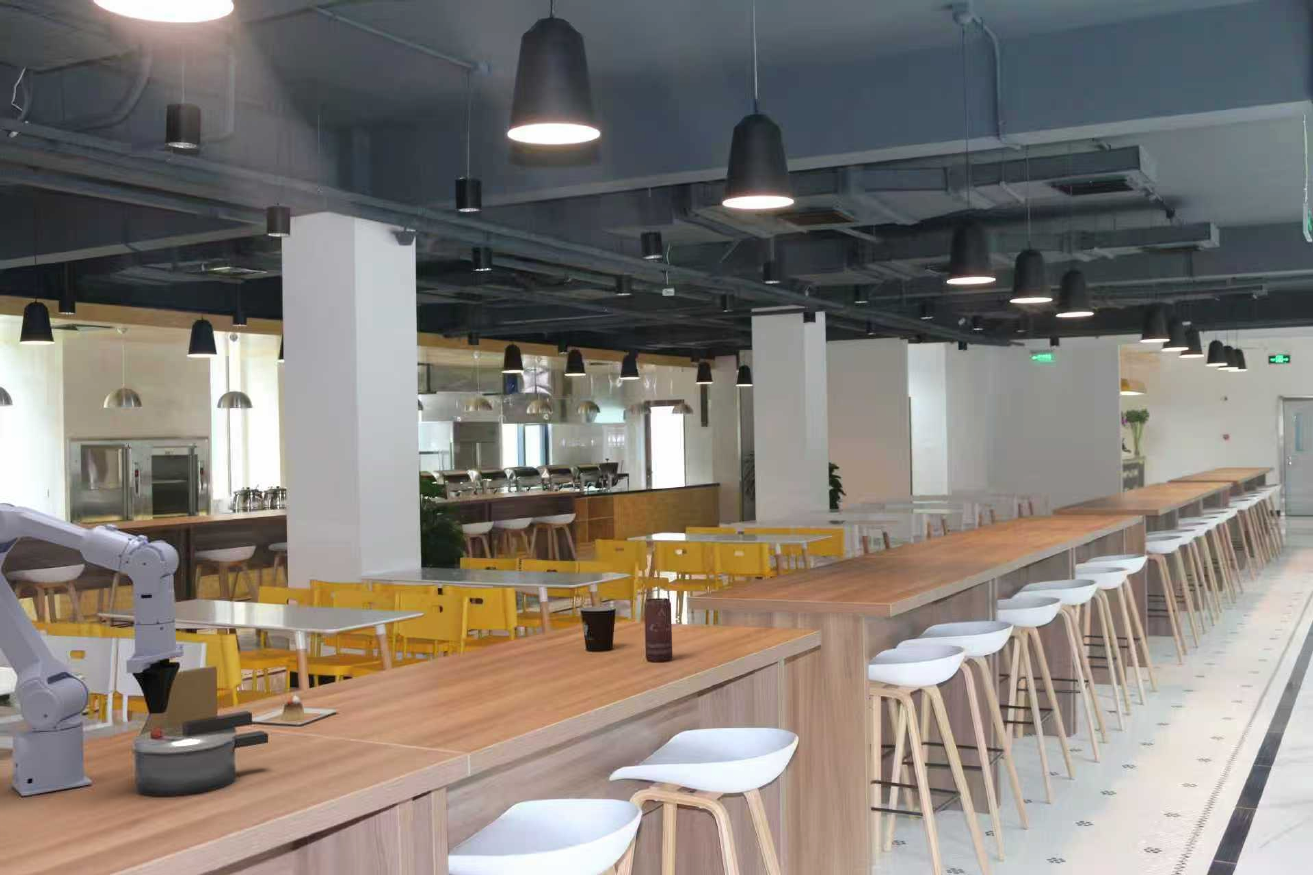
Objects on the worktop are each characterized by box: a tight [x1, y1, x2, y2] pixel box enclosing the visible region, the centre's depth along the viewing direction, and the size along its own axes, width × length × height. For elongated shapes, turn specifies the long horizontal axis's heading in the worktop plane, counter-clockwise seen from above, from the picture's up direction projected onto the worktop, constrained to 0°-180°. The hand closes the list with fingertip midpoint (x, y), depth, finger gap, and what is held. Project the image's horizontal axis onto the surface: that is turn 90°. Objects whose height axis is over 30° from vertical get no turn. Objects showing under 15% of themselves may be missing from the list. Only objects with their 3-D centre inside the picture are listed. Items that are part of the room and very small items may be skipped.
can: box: [643, 597, 673, 663], centre depth 277 cm, size 6×6×14 cm
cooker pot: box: [134, 730, 269, 798], centre depth 182 cm, size 19×14×6 cm
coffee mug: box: [580, 606, 617, 653], centre depth 296 cm, size 12×9×10 cm
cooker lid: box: [132, 710, 253, 754], centre depth 182 cm, size 17×14×3 cm
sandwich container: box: [131, 665, 218, 754], centre depth 200 cm, size 9×15×15 cm, turn 45°
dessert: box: [252, 694, 340, 727], centre depth 226 cm, size 12×12×5 cm
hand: (157, 712), depth 182 cm, fingers closed
